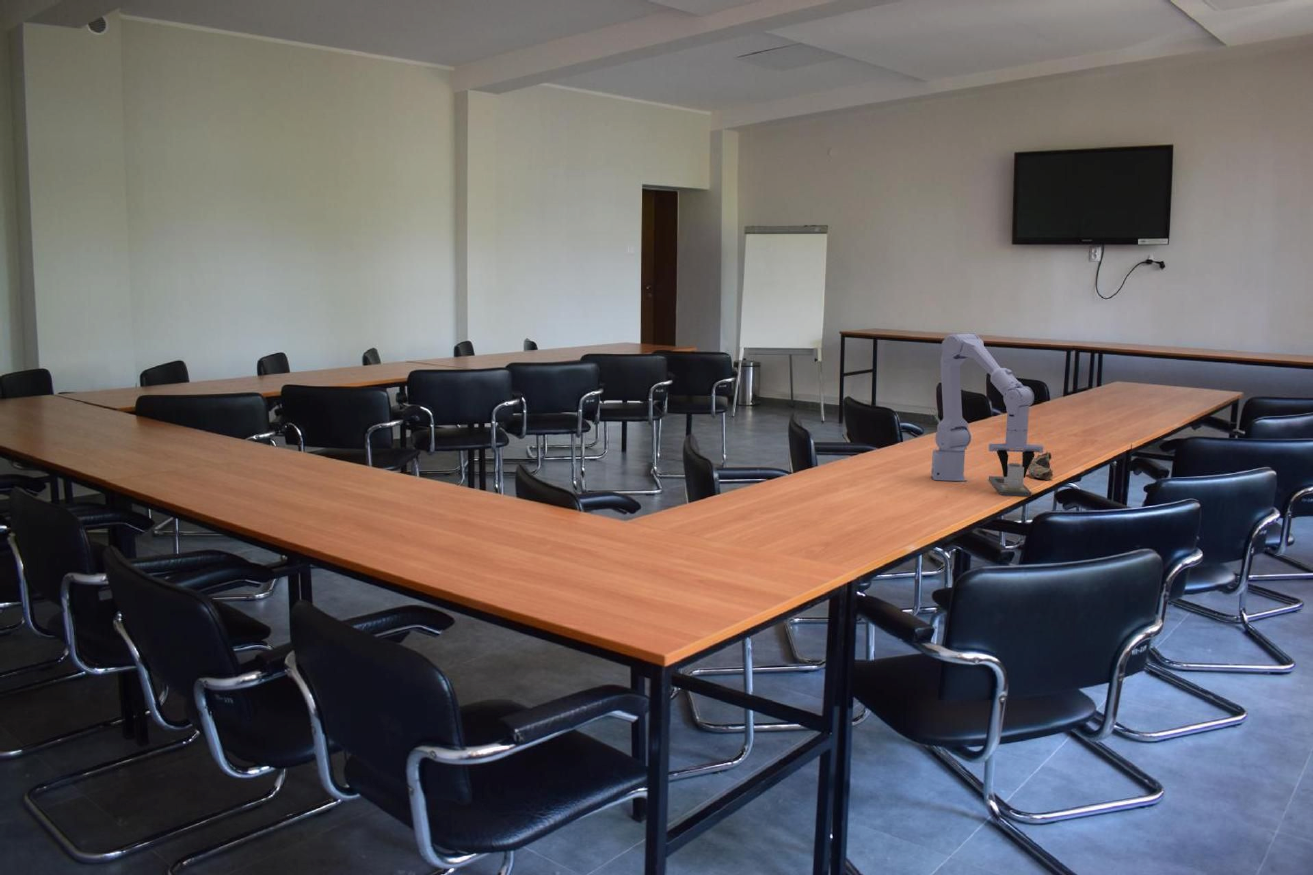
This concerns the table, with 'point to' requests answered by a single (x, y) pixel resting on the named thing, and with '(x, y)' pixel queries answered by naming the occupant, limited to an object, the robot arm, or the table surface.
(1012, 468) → the grey upright block
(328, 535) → the table surface
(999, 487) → the rail plate
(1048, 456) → the rock
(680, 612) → the table surface
